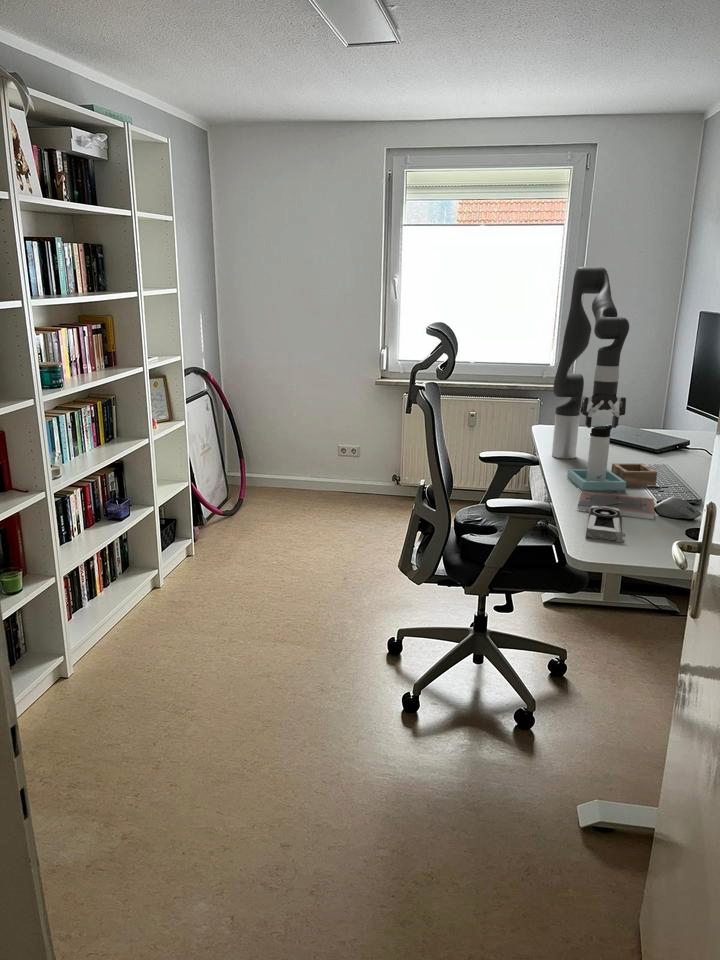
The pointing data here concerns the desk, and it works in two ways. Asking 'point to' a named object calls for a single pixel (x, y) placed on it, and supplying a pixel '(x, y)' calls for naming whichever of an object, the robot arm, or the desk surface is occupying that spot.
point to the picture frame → (618, 504)
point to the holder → (635, 474)
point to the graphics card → (610, 529)
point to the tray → (596, 482)
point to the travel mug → (598, 453)
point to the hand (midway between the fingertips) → (601, 427)
